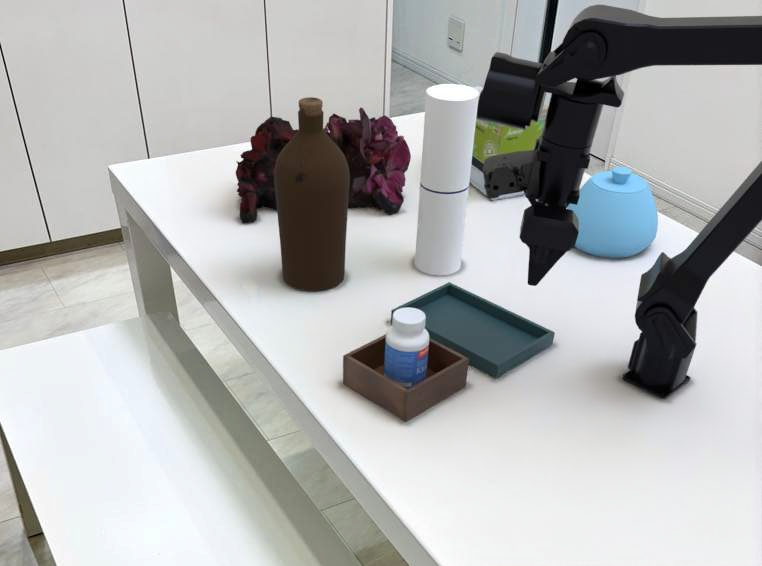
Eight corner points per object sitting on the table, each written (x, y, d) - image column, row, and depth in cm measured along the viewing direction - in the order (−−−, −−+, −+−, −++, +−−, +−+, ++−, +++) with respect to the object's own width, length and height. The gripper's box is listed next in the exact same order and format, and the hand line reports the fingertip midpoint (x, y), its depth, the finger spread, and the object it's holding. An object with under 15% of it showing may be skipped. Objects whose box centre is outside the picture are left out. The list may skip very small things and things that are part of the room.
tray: (552, 345, 118) (555, 332, 117) (496, 378, 112) (498, 365, 111) (447, 294, 128) (449, 281, 127) (390, 322, 122) (391, 309, 120)
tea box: (449, 171, 162) (457, 86, 152) (495, 163, 165) (506, 79, 155) (491, 202, 152) (502, 113, 142) (539, 193, 155) (553, 105, 145)
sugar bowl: (543, 228, 145) (555, 157, 137) (619, 216, 149) (635, 146, 141) (590, 267, 135) (607, 194, 127) (671, 253, 139) (692, 181, 131)
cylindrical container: (407, 268, 134) (417, 95, 116) (426, 250, 138) (439, 80, 121) (449, 279, 131) (466, 104, 114) (467, 260, 136) (486, 89, 119)
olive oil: (355, 290, 128) (359, 111, 111) (285, 297, 127) (278, 117, 109) (339, 257, 136) (340, 85, 118) (273, 264, 134) (264, 90, 116)
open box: (465, 386, 111) (469, 358, 108) (405, 422, 105) (407, 393, 102) (402, 352, 116) (404, 324, 113) (342, 383, 111) (342, 355, 108)
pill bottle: (422, 398, 108) (427, 329, 101) (379, 393, 109) (382, 324, 102) (428, 375, 112) (434, 307, 105) (387, 369, 113) (390, 301, 106)
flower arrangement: (246, 234, 141) (239, 138, 131) (223, 187, 155) (215, 97, 144) (424, 213, 148) (431, 121, 138) (387, 170, 162) (391, 83, 151)
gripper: (500, 98, 103) (474, 223, 114) (490, 157, 90) (462, 292, 101) (592, 114, 103) (557, 237, 114) (596, 176, 90) (556, 309, 101)
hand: (532, 266), depth 107 cm, fingers open, 9 cm apart
